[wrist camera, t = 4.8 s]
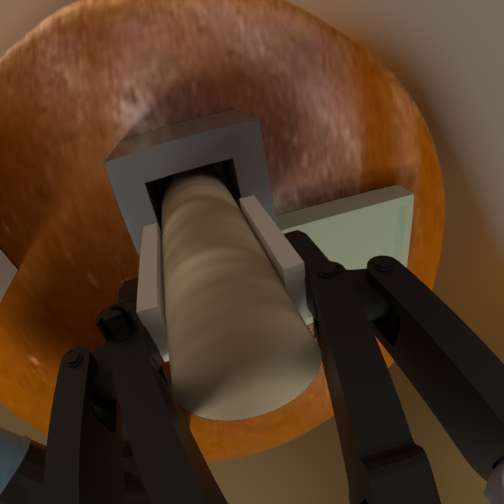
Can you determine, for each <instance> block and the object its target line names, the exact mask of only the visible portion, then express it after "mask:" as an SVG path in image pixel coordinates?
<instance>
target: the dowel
mask: <svg viewBox="0 0 504 504" xmlns="http://www.w3.org/2000/svg"><path fill="white" fill-rule="evenodd" d="M162 252H163V281H164V300H165V316H166V330H167V342H168V353H169V364H170V373H171V382H172V391H173V394H174V397H175V399H176V401H177V402H178V403H179V404H180V405H181V406H182V407H183V408H184V409H185V410H187V411H188V412H190V413H192V414H194V415H197V416H200V417H203V418H207V419H213V420H240V419H246V418H251V417H255V416H259V415H262V414H265V413H268V412H271V411H273V410H275V409H278V408H280V407H282V406H283V405H285V404H287V403H289V402H290V401H292V400H293V399H295V398H296V397H297V396H299V395H300V394H301V393H302V392H303V391H304V390H305V389H306V388H307V387H308V386H309V385H310V384H311V383H312V381H313V380H314V378H315V377H316V375H317V373H318V371H319V369H320V365H321V358H322V357H321V351H320V348H319V346H318V344H317V342H316V341H315V339H314V337H313V335H312V334H311V332H310V330H309V328H308V327H307V325H306V323H305V321H304V320H303V318H302V316H301V314H300V313H299V311H298V309H297V307H296V306H295V304H294V302H293V300H292V299H291V297H290V295H289V293H288V292H287V290H286V288H285V286H284V285H283V283H282V281H281V279H280V278H279V276H278V274H277V272H276V271H275V269H274V267H273V266H272V264H271V262H270V260H269V259H268V257H267V255H266V253H265V252H264V250H263V248H262V247H261V245H260V243H259V241H258V240H257V238H256V236H255V235H254V233H253V231H252V229H251V228H250V226H249V224H248V223H247V221H246V219H245V217H244V216H243V214H242V212H241V211H240V209H239V207H238V205H237V204H236V202H235V200H234V199H233V197H232V195H231V193H230V192H229V190H228V188H227V187H226V185H225V183H224V182H223V180H222V178H221V176H220V175H219V173H218V171H217V170H216V169H215V167H214V166H212V165H211V164H208V165H205V166H201V167H197V168H194V169H190V170H186V171H183V172H179V173H176V174H173V175H169V176H166V177H164V180H163V184H162Z"/></svg>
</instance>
